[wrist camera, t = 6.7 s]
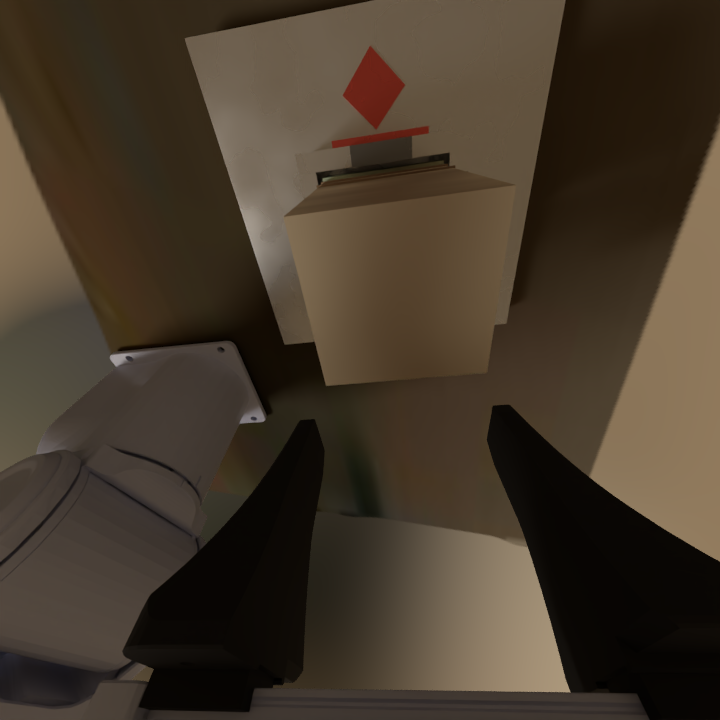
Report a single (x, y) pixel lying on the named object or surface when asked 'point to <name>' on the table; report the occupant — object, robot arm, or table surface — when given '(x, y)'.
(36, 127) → the table surface
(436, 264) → the post
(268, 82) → the jack base
